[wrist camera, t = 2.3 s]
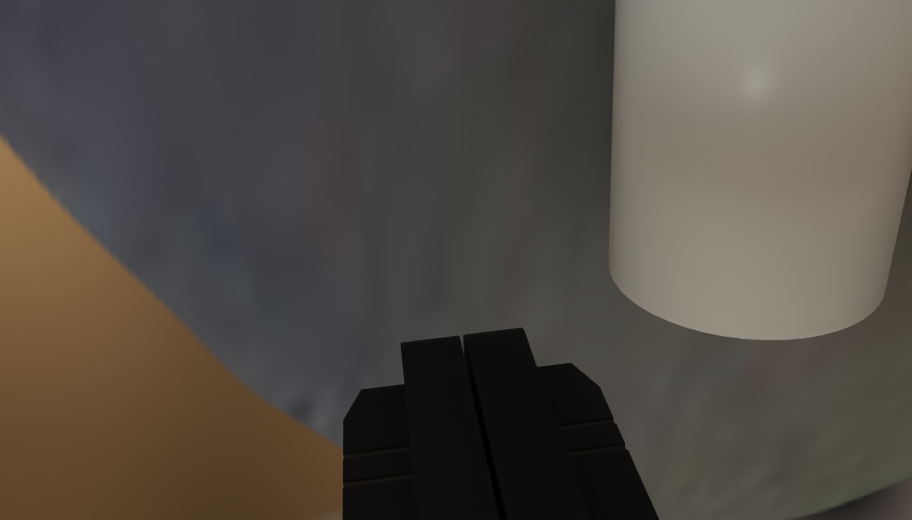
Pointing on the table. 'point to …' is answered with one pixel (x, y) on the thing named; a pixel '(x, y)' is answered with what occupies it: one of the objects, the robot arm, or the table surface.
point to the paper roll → (759, 160)
